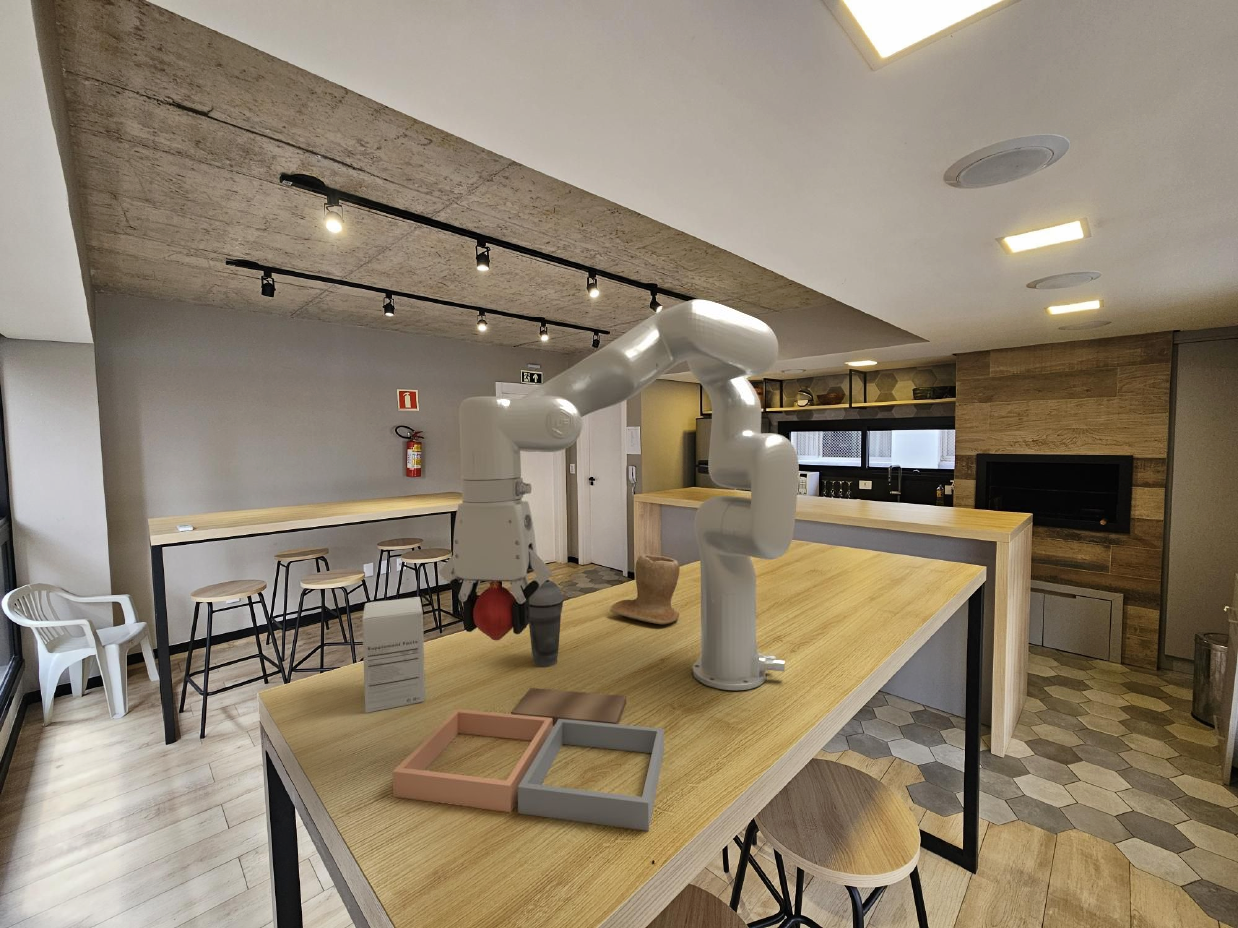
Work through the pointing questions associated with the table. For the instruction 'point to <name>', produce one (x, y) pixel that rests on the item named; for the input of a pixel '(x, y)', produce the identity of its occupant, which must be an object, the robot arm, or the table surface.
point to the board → (571, 706)
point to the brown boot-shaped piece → (652, 591)
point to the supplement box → (393, 653)
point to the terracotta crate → (468, 788)
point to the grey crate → (593, 803)
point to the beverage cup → (545, 623)
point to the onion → (494, 611)
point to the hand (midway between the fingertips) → (497, 627)
